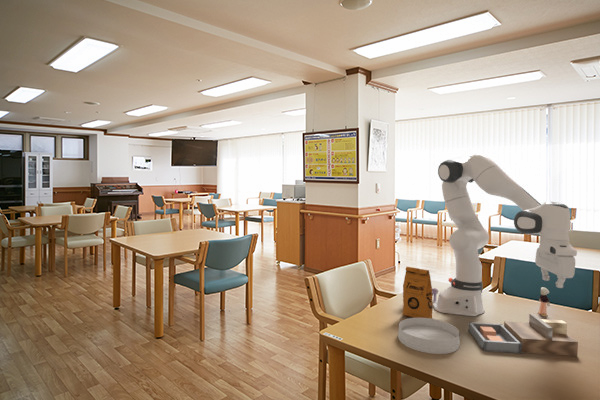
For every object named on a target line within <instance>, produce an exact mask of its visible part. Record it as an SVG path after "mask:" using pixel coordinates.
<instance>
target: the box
mask: <svg viewBox="0 0 600 400" xmlns="http://www.w3.org/2000/svg"><path fill="white" fill-rule="evenodd" d="M480 326H481V327H492V328H493V329H494V330H495V331H496V336H500V337H501V339H502V340H503V341H490V340H486V338H485V337H483V336H482V335H481V334H480ZM468 332H469V333H470V334H471V336H472V337H473V339H474V340H475V341H476V342H477V344H478V345H479V347H480V348H481V349H482V350H483V351H484V352H493V353H494V352H495V353H496V352H497V353H508V354H509V353H510V354H511V353H512V354H522V352H521V349H522V344H521V343H520V342H519V341H518V340H517V339H516V338H515V337H514V336H513V335H512V334H511V333H510V332H509V331H508V330H507V329H506V328H505V327H504V324H502V323H489V322H487V323H486V322H474V321H473V322H470V321H469V322H468Z"/></svg>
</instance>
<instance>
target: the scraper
mask: <svg viewBox="0 0 600 400" xmlns="http://www.w3.org/2000/svg"><path fill="white" fill-rule="evenodd" d="M528 321H529V322H528V323H529V324H530V325H531V326H532V327H534V328H535V329H536V330H537V331H538V332H540V333H541V334H542V335H543V336H545V337H546V338H547V339H552V333H555V334H568V333H567V331H568V323H567V322H566V321H564V320H562V319H561V320H558V319H543V318H539V316H537V315H536V314H535V313H529V319H528Z"/></svg>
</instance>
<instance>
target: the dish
mask: <svg viewBox="0 0 600 400" xmlns="http://www.w3.org/2000/svg"><path fill="white" fill-rule="evenodd" d="M397 337H398V341H400V344H403V345H404V347H405V346H406V347H407V348H410V349H412V350H415V351H418V352H422V353H425V354H435V355H443V354H450V353H454V352H456V351H458V350H459V348H460V341H461V339H460V331H459V329H458V328H457V327H456V326H455V325H453V324H450V323H449V322H446V321H443V320H439V319H435V318H432V319H431V318H413V317H409V318H405V319H403V320H400V322H399V324H398V331H397Z"/></svg>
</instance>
